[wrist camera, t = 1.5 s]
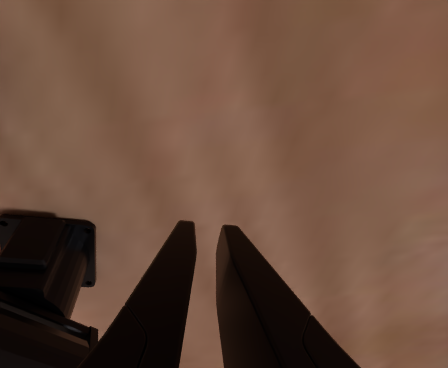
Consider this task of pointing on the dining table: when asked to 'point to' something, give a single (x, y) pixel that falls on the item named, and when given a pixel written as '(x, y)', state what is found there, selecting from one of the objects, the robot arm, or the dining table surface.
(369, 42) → the dining table surface
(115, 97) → the dining table surface
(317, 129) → the dining table surface
